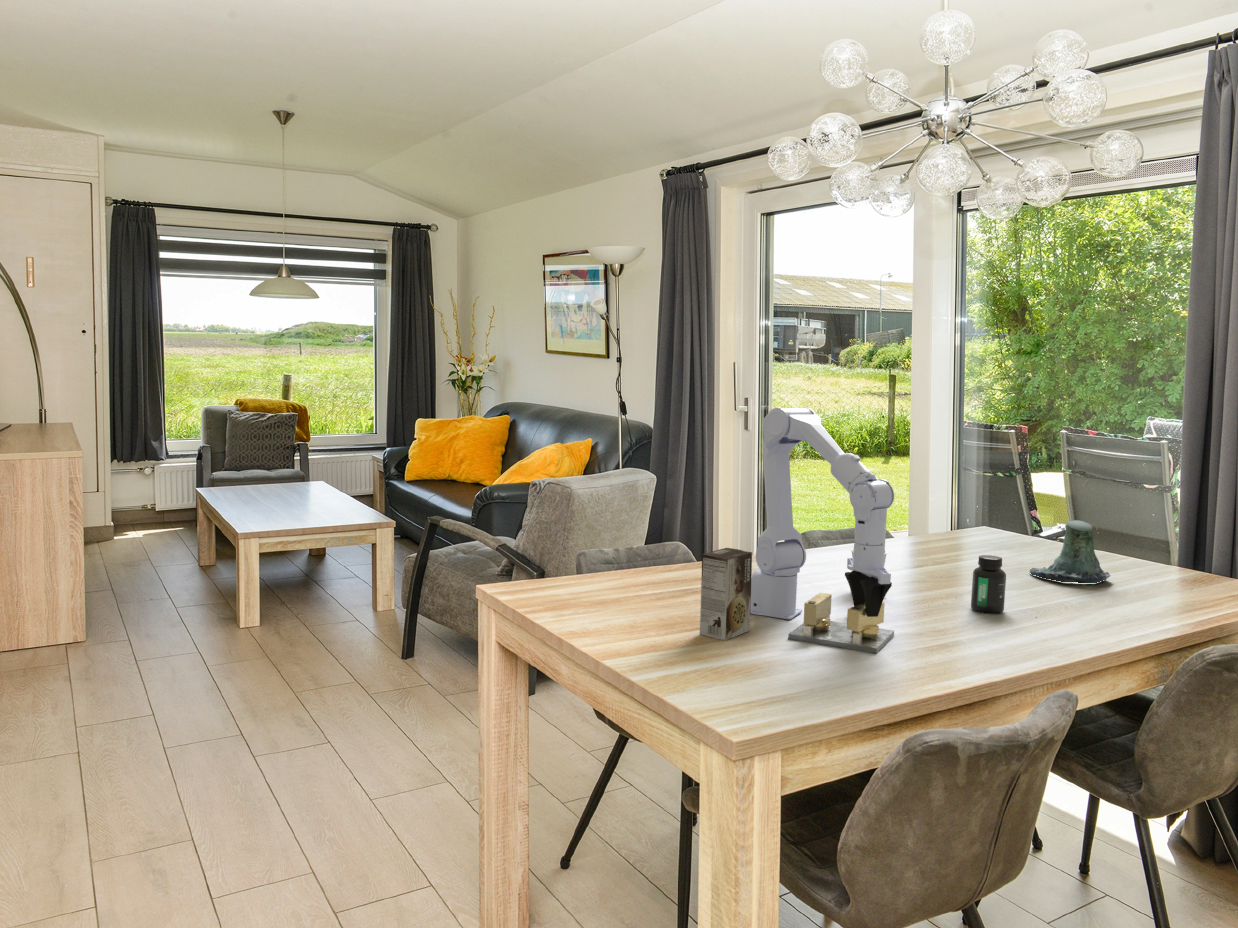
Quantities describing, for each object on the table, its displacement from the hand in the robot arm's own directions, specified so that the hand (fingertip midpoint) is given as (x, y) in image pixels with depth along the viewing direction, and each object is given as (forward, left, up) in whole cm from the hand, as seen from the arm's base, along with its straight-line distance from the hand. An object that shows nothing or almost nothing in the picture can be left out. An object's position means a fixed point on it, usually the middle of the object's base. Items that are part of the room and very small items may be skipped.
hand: (865, 612), depth 179 cm
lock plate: (-4, 0, -6) cm, 7 cm away
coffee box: (-25, -10, -6) cm, 28 cm away
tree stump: (+31, +86, -6) cm, 92 cm away
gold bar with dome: (0, 0, -4) cm, 4 cm away
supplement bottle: (+17, +39, -6) cm, 43 cm away
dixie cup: (-10, +41, -6) cm, 43 cm away
